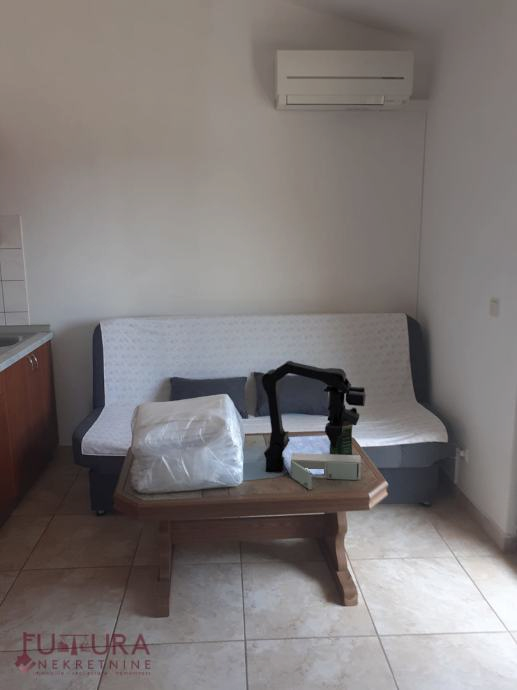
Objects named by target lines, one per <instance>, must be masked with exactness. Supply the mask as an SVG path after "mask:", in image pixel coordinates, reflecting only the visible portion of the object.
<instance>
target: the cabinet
mask: <svg viewBox="0 0 517 690" xmlns="http://www.w3.org/2000/svg"><path fill="white" fill-rule="evenodd" d="M361 459H362V458H361V455H359V454H358V455H355V454H352V455H334V454H330V453H329V454H328V453H327V454H325V453H305V452H304V453H303V452H301V453H300V452H292V453H291V457H290V461H291V460H293V461H294V462H296V463H297V464H299V465H300V466H302V467H303V468H308V469H324V474H322V475H312V478H319V479H330V480H351V481H357V480H361V477H362V476H361V473H362V471H361V469H362V467H361V465H362V462H361V461H362V460H361Z"/></svg>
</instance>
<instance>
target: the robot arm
mask: <svg viewBox="0 0 517 690" xmlns="http://www.w3.org/2000/svg"><path fill="white" fill-rule="evenodd" d="M289 374H291V375H294V376H295V375H296V376H300V377H304V378H308V379H313V380H317V381H320V382H322V383H324V384H325V385H327V386H325V387H324V388H323V392H324V393H328V407H327V410H328V414H327V421H328V422H326V424H325V427H324V433H325V434H326V436H327V438H328V441H329V444H330V443H331V445H332V448H336V444H337V440H338V436H340V435H342V433H343V425H342V424H343V423H344V422H345V421H347V422H349V423H351V424H352V425H353V426H357V424H358V423H359V422H358V421H359V419H360V416H361V415H360V413H359V412H358V408H357V407H365V405H366V398H367V397H366V396H367V395H366V387H363V386H359V387H357V386H352V383H350V380H349V379H348V378H347V374H346V372H345V371H344V369H342V368H338V367H337V368H335V367H329V368H321V367H316V366H312V365H309V364H303V363H299V362H294V361H293V360H288V361H286V362H285V363H284V364H282V365H280V366H278V367H277V368H275V369H270V370H268V371H267V372H265V374H263V376H262V377H261V385H262V387H263V390H264V393H265V394H266V396H267V403H268V412H269V419H270V420H269V421H270V428H271V433H270V438H269V445H268V446H267V448H266V450H265V451H264V453H263V455H264V458H265V469H264V471H265V472H267V473H283V470H284V468H285V457H284V456H283V452H284V451H285V449H286V448H287V446H289V442H290V441H291V440H290V436H289V431H286V430H285V429H284V426H283V418H282V408H281V402H280V401H281V400H280V388H281V383H282V382H281V381H282V379H283V378H284V377H286V376H287V375H289ZM345 402H346V404H348V405H349V406H353V407H352V408H350V409H347V408H346V404H345Z"/></svg>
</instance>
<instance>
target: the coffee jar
mask: <svg viewBox="0 0 517 690" xmlns="http://www.w3.org/2000/svg"><path fill="white" fill-rule="evenodd" d="M342 425H343V433H342V435H340V436H338V440H337V444H336V448H332V445H331V443H330V442H329V454H334V455H353V441H352V440H353V436H352V435H353V426H354V425H352V424H351V423H349V422H347V421H345V422H344V423H343V424H342Z"/></svg>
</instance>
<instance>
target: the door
mask: <svg viewBox="0 0 517 690" xmlns="http://www.w3.org/2000/svg"><path fill="white" fill-rule="evenodd" d="M291 478H292V479H294V481H296V482H298V483H300V485H302V486H304V487H305V488H307V489H308V490H312V489H313V488H312V483H313V482H312V478H313V477H312V473H311V472H310V471H308V470H307V469H305V468H303V467H302V466H300V465H299V464H297V463H296V462H294V461H293V460H291V459H290V479H291Z"/></svg>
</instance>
